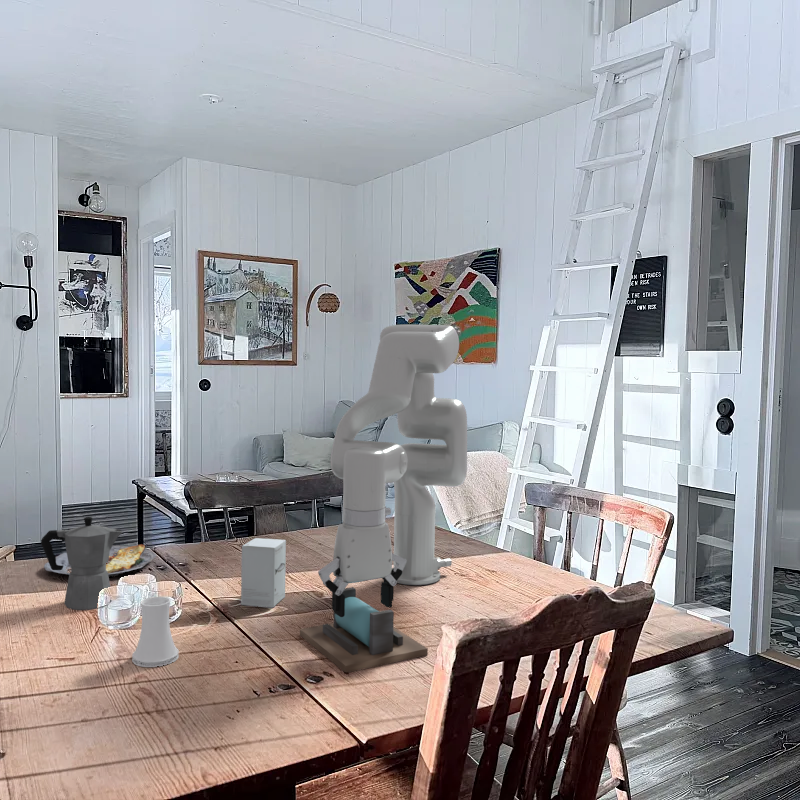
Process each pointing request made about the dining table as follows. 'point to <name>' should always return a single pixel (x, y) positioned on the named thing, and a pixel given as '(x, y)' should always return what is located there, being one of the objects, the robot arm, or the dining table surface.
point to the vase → (155, 635)
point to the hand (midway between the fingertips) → (363, 610)
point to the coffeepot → (83, 561)
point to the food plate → (114, 560)
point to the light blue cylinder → (356, 619)
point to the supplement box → (263, 572)
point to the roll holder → (357, 655)
